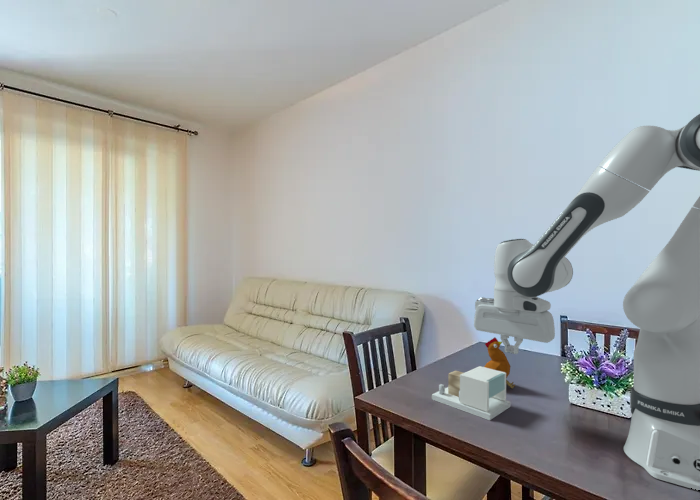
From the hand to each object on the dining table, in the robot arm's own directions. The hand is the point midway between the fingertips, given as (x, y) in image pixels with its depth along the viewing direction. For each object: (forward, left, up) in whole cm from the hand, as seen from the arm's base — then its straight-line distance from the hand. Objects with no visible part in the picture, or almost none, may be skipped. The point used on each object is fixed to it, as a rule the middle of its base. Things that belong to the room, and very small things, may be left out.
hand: (511, 352), depth 99 cm
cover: (+8, 0, -15) cm, 17 cm away
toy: (+14, -17, -17) cm, 28 cm away
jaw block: (+16, 0, -16) cm, 22 cm away
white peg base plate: (+12, 0, -17) cm, 21 cm away
